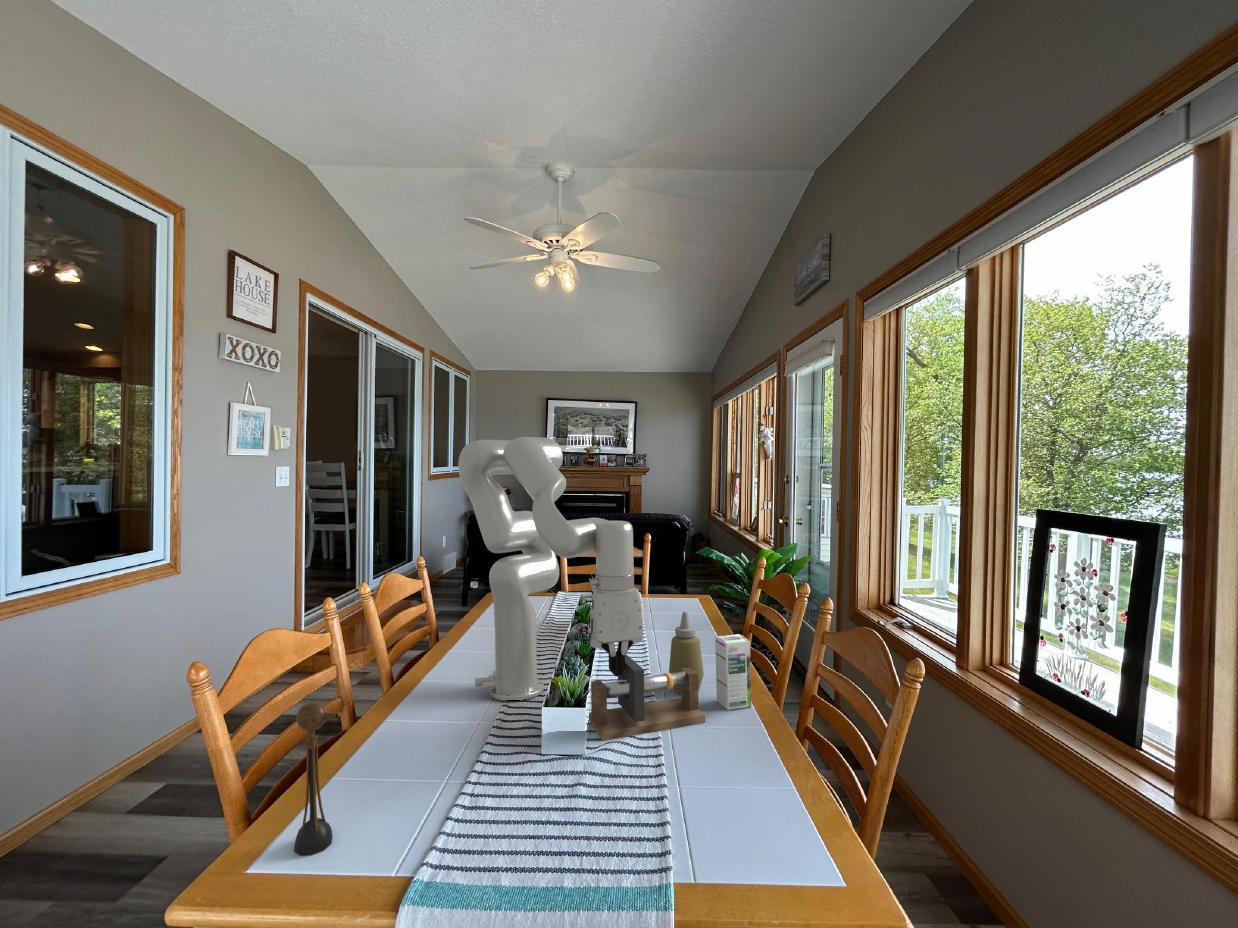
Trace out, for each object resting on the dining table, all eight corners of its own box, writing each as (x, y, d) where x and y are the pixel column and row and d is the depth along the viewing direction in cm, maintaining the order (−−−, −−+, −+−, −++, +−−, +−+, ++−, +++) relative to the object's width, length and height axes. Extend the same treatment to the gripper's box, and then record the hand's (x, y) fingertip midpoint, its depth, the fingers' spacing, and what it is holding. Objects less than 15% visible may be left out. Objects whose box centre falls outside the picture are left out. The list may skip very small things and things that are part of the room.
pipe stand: (602, 740, 114) (601, 693, 114) (587, 719, 123) (586, 675, 123) (705, 722, 121) (704, 677, 121) (684, 703, 131) (683, 662, 131)
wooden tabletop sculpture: (345, 833, 87) (343, 695, 87) (331, 854, 82) (328, 708, 82) (304, 834, 86) (301, 696, 86) (287, 855, 82) (284, 710, 82)
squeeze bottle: (663, 693, 137) (662, 614, 137) (676, 681, 144) (675, 606, 144) (696, 699, 133) (695, 618, 133) (708, 686, 140) (707, 610, 140)
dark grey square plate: (635, 722, 116) (634, 670, 116) (618, 702, 126) (617, 655, 126) (644, 720, 117) (643, 669, 117) (627, 701, 126) (626, 654, 126)
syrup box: (727, 710, 127) (726, 642, 127) (715, 700, 132) (714, 634, 132) (751, 707, 128) (750, 639, 128) (739, 697, 134) (738, 632, 134)
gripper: (584, 589, 114) (586, 685, 114) (656, 582, 119) (658, 674, 119) (574, 582, 121) (576, 672, 121) (643, 576, 126) (644, 663, 126)
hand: (617, 673), depth 120 cm, fingers closed
